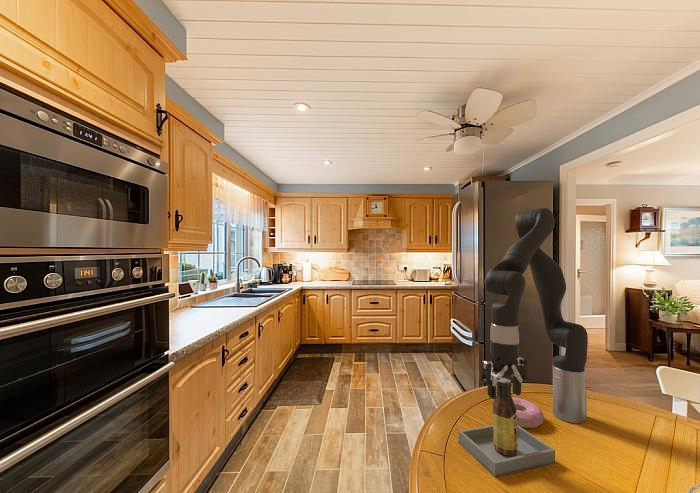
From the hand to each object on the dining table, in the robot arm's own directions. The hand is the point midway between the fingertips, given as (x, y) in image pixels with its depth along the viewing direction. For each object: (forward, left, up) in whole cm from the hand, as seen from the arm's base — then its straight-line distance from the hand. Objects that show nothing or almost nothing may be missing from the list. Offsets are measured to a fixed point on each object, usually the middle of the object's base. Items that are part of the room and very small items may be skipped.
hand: (504, 396), depth 89 cm
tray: (0, 0, -16) cm, 16 cm away
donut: (-19, -14, -17) cm, 29 cm away
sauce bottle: (0, 0, -16) cm, 16 cm away
